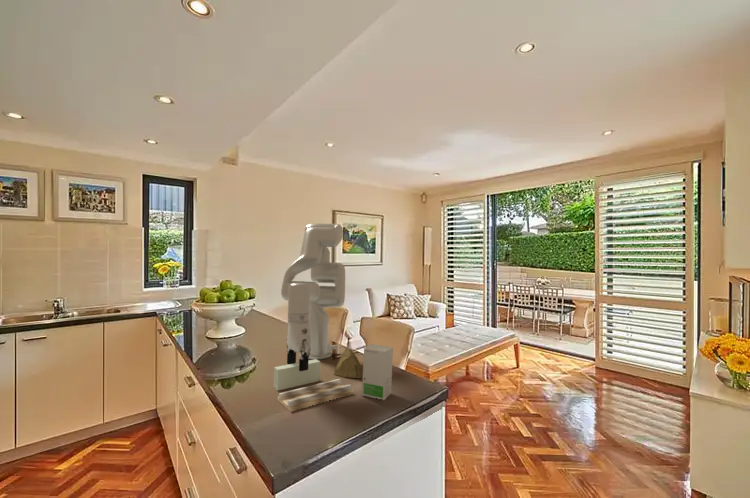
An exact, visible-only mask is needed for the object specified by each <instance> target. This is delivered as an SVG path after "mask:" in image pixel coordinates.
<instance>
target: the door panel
mask: <svg viewBox="0 0 750 498" xmlns="http://www.w3.org/2000/svg"><path fill="white" fill-rule="evenodd" d="M319 381H321V361H320V360H319V359H308V370H305V371H299V362H296V363H294V364H284V365H279V366H275V367H273V388H274V389H275V390H276V391H282V390H286V389H290V388H295V387H298V386H304V385H308V384H310V383H316V382H319Z"/></svg>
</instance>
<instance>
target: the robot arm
mask: <svg viewBox="0 0 750 498" xmlns="http://www.w3.org/2000/svg"><path fill="white" fill-rule="evenodd" d="M343 237H344V229H343V226H342V225H341V224H339V223H309V224H307V225H306V226H305V228H304V234H303V239H302V245H301V250H300V255H299V257H298V258H297V259H296V260H294V261H293V262H292V263H291V264H290V266H289V267H287V269H286V270H285V273H284V275H283V280H282V284H281V290H280V291H281V293H280V294H281V297H282V299H283V300H284V301H287V303H288V305H287V323H288V325H287V326H288V327H287V338H286V353H287V355H286V365H288V364H294V363H297V353H298V355H299V359H298V363H299V371H305V370H308V361H309V360H314V359H316V360H325V359H328V358H330V357H332V353H333V352H331V351H332V350H337V349H338V344H333V345H332V344H329V328H330V327H329V323H330V319H329V318H330V317H329V313H328V312H327V311H326V309H325V308H340V307H342V306H343V305H344V304H345V300H346V299H345V298H346V268H345V265H344V264H343V263H341V262H331V252H330V250H329V248H336V247H337V246H339V244H340V243H341V241H342V240H343ZM307 270H310V279H311V281H304V280H294V279H296V278H295V277H296V276H298V275H299V274H301V273H303V272H305V271H307ZM318 283H319V284H334V285H333V286H332V285H319V284H318Z"/></svg>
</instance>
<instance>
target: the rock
mask: <svg viewBox="0 0 750 498" xmlns="http://www.w3.org/2000/svg"><path fill="white" fill-rule="evenodd" d="M333 375H334V376H335V375H336V376H338V377H343V378H353V379H363V368H362V366H361V363H360V361H359V359H358V357H357V356H356V353H354V351H353V350H352V349H351V348H348V347H346V348H345V349H344V351H343V352H342V354H341V356H340V358H339V360H338V362H337V364H336V366H335V369H334V372H333Z"/></svg>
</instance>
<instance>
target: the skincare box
mask: <svg viewBox="0 0 750 498" xmlns="http://www.w3.org/2000/svg"><path fill="white" fill-rule="evenodd" d="M393 357H394V347H392V346H386V345H381V344H374V343H370V344H369V345H367V346H365V347H364V348H363V363H362V366H363V367H362V374H363V377H362V387H361V389H362V391H361V395H362V396H363V397H367V398H372V399H376V398H377V399H376V400H380V399H383V400H382V401H386V399H387V398H388V397H389V396H390V395H391V394H392V380H393V378H392V377H393V361H394V358H393Z"/></svg>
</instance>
